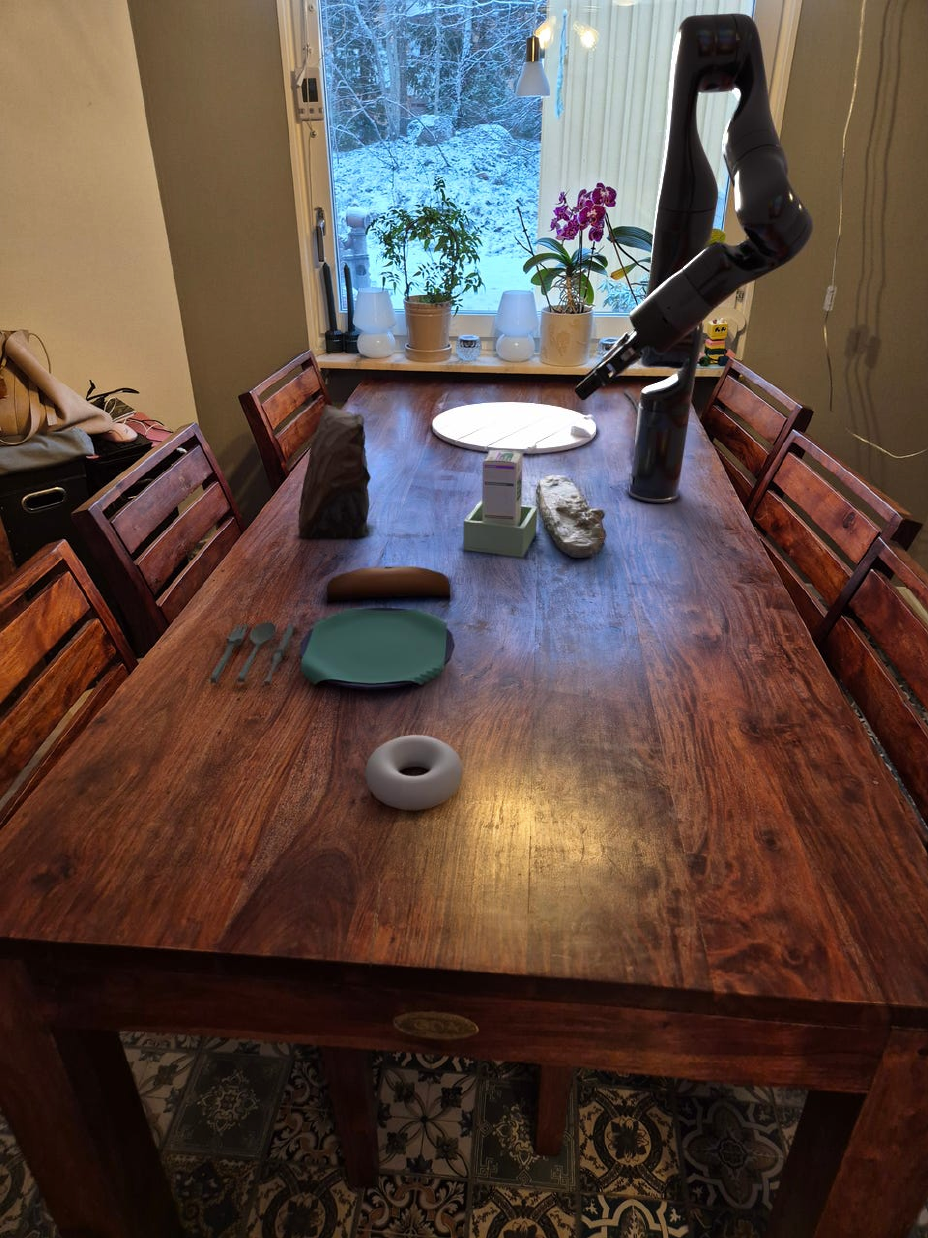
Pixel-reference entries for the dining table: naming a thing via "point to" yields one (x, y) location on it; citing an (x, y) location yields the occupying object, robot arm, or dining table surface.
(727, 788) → the dining table surface
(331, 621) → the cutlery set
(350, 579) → the sunglasses case
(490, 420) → the lazy susan
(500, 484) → the syrup box
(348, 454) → the dark brown rock
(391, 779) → the donut
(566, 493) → the elongated rock
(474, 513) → the socket
